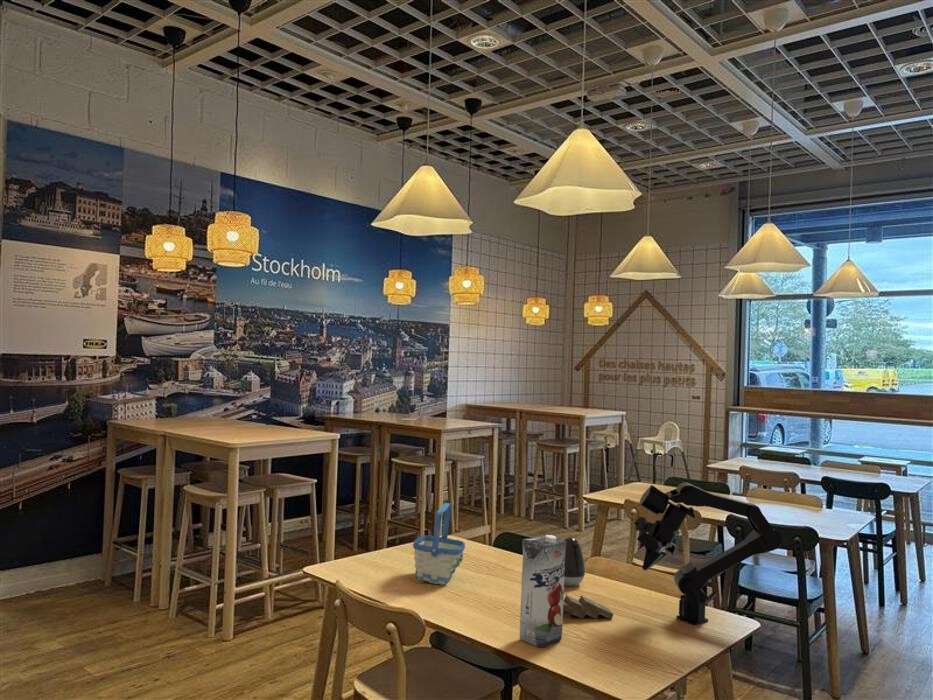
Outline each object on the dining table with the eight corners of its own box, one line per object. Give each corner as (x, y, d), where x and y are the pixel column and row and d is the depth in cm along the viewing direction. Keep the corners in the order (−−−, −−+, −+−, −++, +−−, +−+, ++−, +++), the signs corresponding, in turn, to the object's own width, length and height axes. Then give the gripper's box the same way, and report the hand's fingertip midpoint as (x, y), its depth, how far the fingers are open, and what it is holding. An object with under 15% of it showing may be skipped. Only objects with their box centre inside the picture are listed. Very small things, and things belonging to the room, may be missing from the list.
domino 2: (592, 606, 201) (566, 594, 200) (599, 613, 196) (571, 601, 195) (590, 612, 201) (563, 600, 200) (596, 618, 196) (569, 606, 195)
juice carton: (514, 639, 178) (518, 533, 179) (540, 630, 185) (544, 528, 186) (540, 650, 172) (545, 540, 173) (566, 640, 179) (570, 535, 180)
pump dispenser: (561, 589, 222) (563, 541, 222) (548, 579, 232) (550, 533, 232) (590, 588, 225) (592, 540, 225) (576, 578, 235) (578, 533, 235)
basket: (457, 590, 217) (461, 514, 218) (406, 585, 219) (410, 510, 220) (467, 571, 237) (470, 502, 238) (421, 567, 240) (424, 499, 241)
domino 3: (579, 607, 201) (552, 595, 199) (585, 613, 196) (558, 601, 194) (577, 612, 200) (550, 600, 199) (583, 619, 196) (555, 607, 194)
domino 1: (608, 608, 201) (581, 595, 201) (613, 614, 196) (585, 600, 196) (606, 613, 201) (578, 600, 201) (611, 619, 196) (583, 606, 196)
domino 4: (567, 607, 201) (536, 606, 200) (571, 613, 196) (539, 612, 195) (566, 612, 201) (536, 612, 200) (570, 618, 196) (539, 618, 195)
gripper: (658, 511, 213) (633, 555, 213) (635, 504, 198) (608, 551, 199) (689, 531, 206) (663, 577, 206) (669, 525, 191) (641, 574, 192)
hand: (644, 569), depth 201 cm, fingers closed
